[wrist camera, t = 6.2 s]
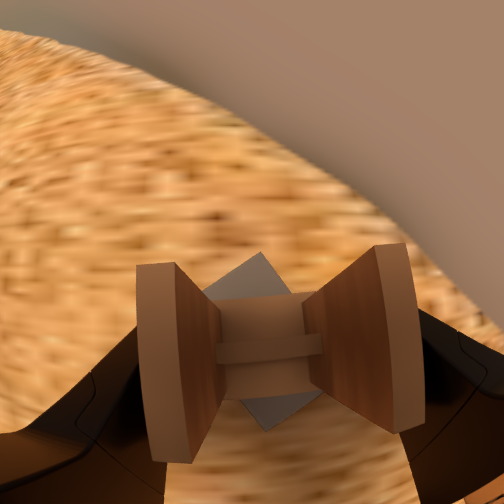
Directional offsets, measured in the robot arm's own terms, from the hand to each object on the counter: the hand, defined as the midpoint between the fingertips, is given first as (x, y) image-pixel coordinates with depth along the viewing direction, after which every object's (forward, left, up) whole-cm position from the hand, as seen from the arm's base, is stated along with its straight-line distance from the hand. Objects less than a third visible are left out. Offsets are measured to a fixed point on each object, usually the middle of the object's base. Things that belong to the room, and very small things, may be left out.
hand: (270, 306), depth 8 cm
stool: (-1, +1, -7) cm, 7 cm away
